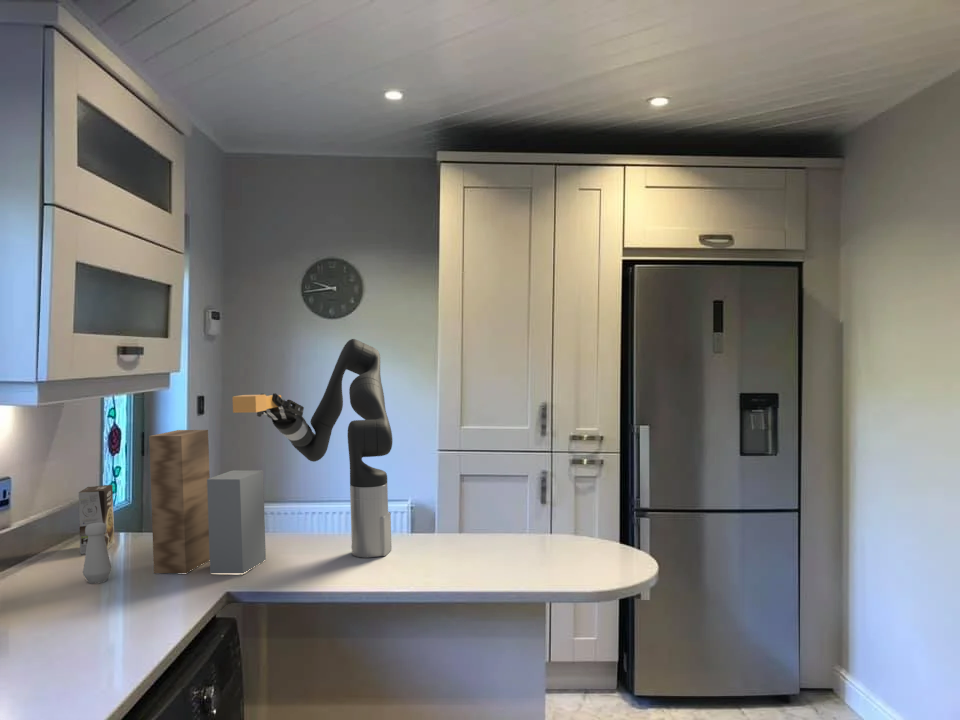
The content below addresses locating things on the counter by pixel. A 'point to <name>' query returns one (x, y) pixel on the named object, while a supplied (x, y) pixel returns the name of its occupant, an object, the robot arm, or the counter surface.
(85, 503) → the coffee box
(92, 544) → the salt shaker
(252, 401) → the orange block
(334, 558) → the counter surface
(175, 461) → the tall wooden block
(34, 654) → the counter surface
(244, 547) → the block
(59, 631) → the counter surface
